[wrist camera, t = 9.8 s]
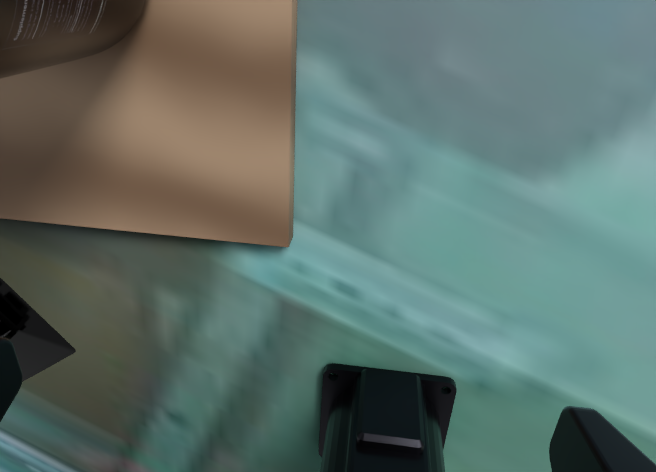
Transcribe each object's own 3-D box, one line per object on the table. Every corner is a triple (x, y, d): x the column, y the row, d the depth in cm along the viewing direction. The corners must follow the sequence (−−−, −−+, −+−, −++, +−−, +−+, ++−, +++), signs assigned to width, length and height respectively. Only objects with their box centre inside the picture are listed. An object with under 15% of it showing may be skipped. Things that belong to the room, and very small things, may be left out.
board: (292, 236, 21) (288, 247, 20) (-46, 203, 23) (-63, 211, 22) (302, -254, 14) (295, -270, 13) (-198, -262, 15) (-234, -278, 14)
